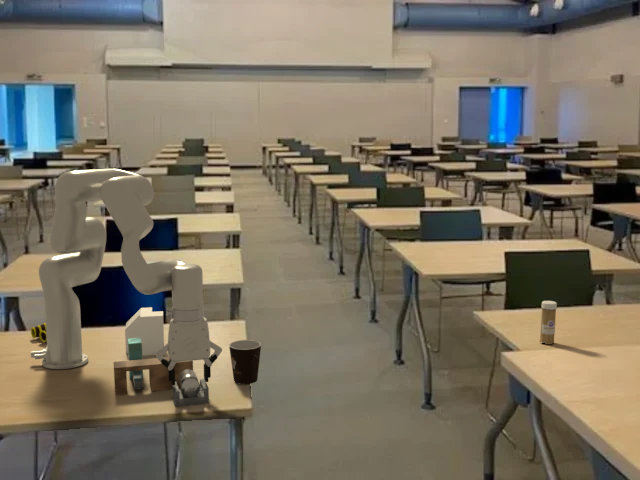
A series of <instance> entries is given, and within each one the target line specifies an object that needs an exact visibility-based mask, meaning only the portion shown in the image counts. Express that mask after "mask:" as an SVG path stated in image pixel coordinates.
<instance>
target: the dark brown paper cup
mask: <svg viewBox="0 0 640 480" xmlns="http://www.w3.org/2000/svg"><path fill="white" fill-rule="evenodd" d="M228 346H229V347H228V349H229V354H230V361H231V369H232V376H233V377H232V378H233V382H234V381H235V382H234V383H236V384H238V383H240V384H239V385H250V384H255V383H256V382H258V376H259V367H260V359H261V349H262V343H261V342H260V341H257V340H252V339H241V340H235V341H231V342H230V343H229V345H228Z"/></svg>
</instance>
